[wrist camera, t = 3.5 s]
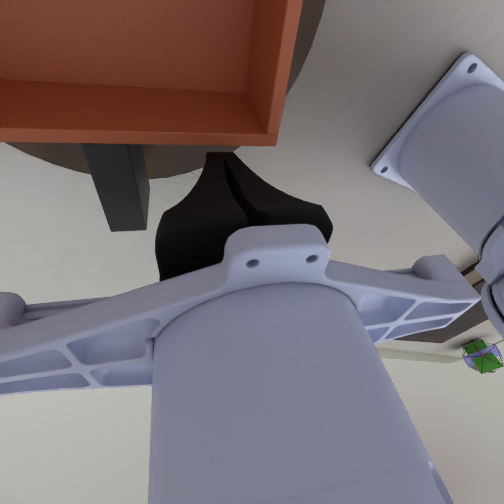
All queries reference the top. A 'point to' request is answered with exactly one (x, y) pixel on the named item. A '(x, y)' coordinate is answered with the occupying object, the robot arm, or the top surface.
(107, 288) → the top surface
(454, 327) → the hardcover book
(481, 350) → the geometric puzzle
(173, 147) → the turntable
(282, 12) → the bin
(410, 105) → the top surface
